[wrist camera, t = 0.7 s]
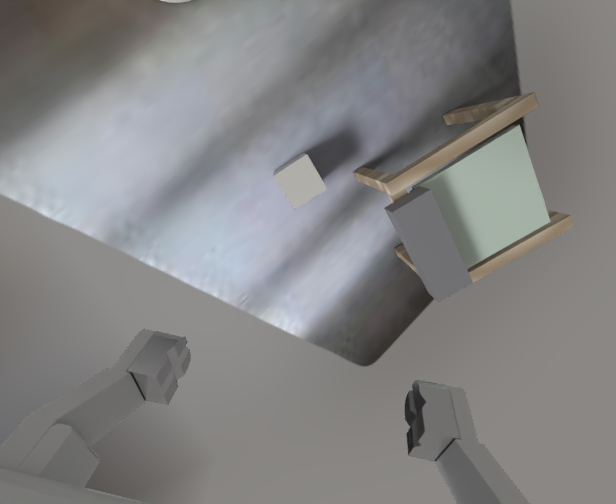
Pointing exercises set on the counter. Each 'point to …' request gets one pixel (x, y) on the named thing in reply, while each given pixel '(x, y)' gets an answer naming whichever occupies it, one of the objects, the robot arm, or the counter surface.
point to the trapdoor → (469, 211)
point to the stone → (299, 180)
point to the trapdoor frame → (491, 122)
